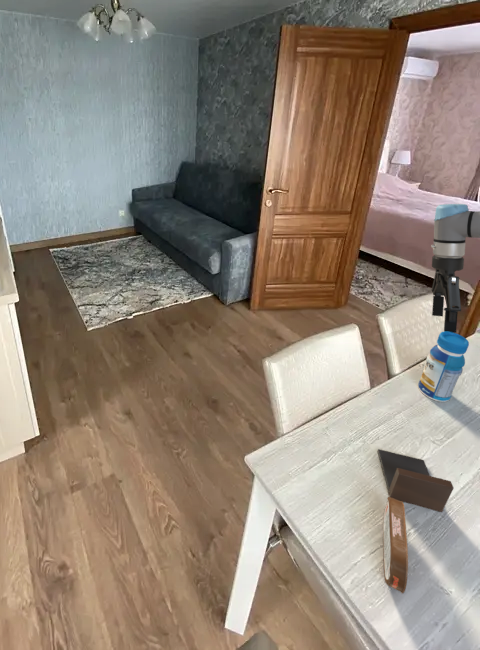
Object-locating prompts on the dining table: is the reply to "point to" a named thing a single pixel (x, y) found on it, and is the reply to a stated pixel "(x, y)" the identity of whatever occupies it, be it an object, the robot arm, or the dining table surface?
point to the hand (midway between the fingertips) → (443, 323)
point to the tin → (395, 545)
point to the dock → (413, 481)
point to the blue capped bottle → (443, 366)
